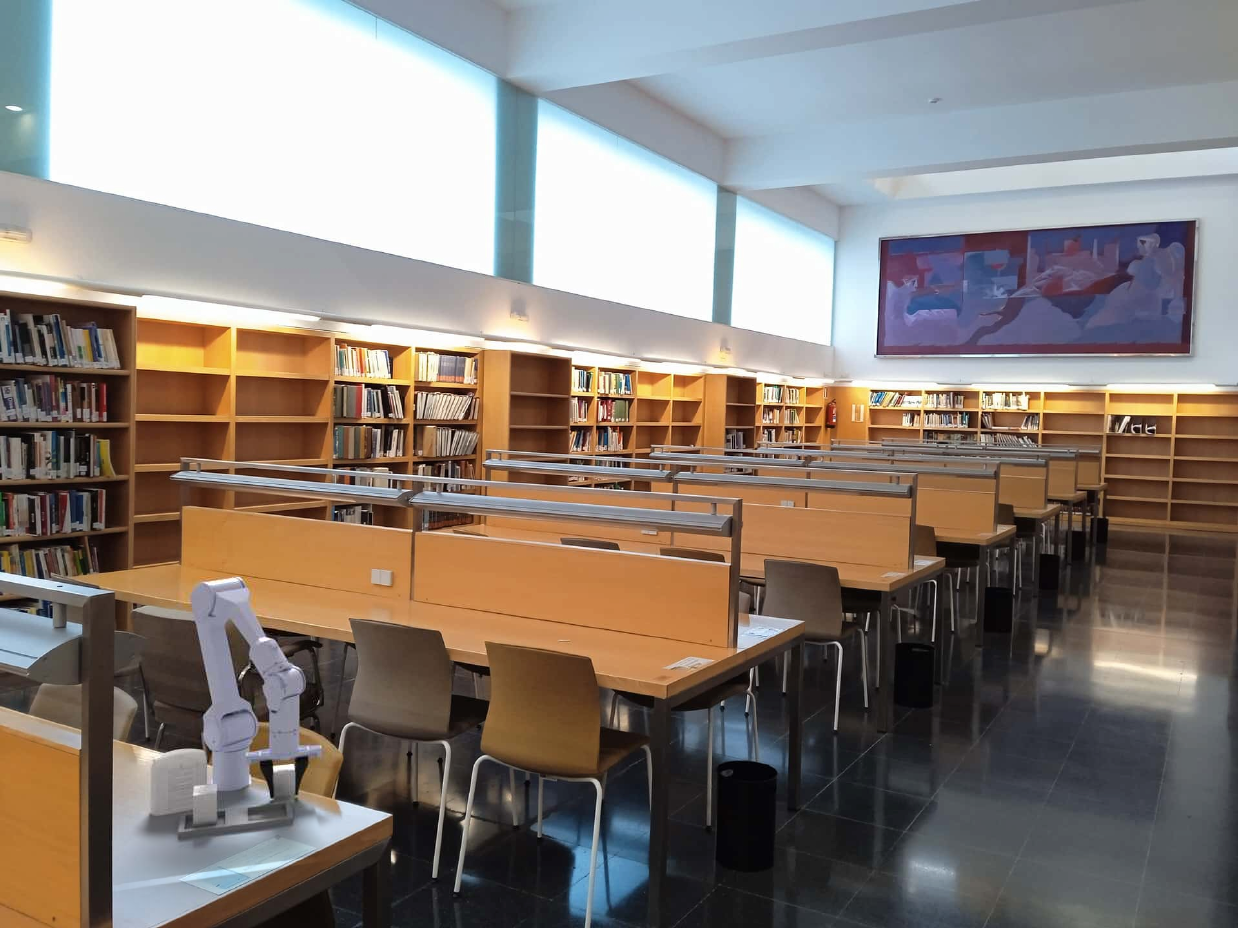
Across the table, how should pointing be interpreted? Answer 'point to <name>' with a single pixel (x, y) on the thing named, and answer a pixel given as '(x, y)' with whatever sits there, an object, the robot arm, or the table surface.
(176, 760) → the white tombstone slab
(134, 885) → the table surface
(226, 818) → the pallet
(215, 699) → the robot arm
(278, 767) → the block
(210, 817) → the block
